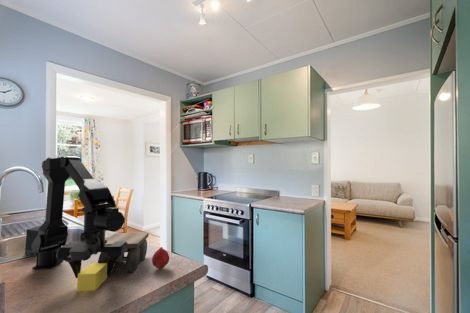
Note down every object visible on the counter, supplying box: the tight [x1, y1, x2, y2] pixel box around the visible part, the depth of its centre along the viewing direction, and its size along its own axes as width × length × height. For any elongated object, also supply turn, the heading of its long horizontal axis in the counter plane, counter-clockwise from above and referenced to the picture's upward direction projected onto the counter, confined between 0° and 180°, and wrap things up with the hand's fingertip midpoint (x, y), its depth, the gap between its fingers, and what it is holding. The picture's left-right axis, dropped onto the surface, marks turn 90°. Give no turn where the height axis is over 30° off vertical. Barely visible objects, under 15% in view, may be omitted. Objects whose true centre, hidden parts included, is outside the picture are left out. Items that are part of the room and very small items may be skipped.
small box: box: [24, 225, 42, 257], centre depth 93 cm, size 11×6×10 cm, turn 168°
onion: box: [151, 246, 170, 271], centre depth 78 cm, size 6×6×8 cm
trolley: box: [97, 232, 149, 272], centre depth 80 cm, size 13×16×10 cm
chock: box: [76, 262, 108, 292], centre depth 68 cm, size 5×7×5 cm
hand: (93, 277), depth 68 cm, fingers open, 9 cm apart
